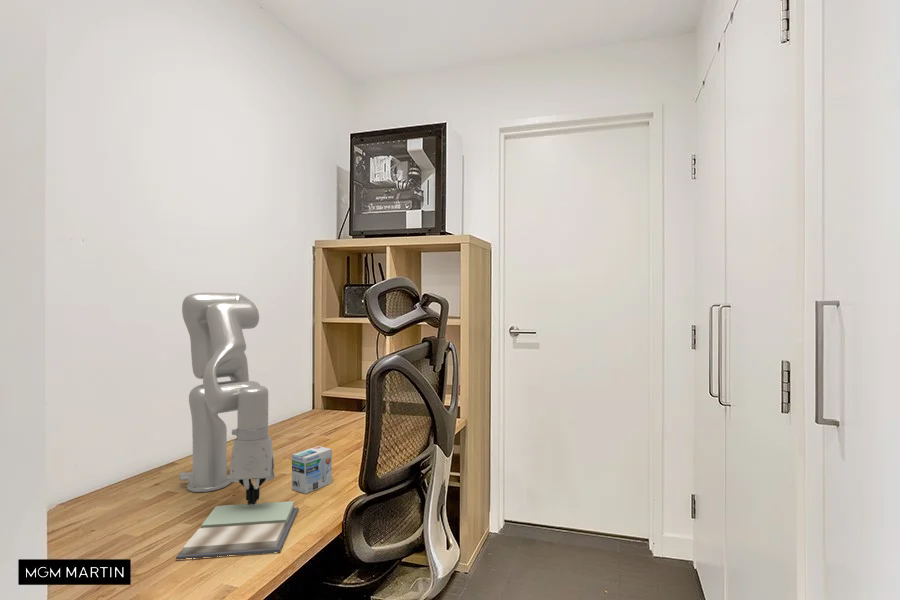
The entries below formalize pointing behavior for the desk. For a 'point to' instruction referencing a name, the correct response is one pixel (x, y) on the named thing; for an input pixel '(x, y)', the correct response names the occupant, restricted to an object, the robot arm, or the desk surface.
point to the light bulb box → (311, 469)
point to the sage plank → (249, 514)
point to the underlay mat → (249, 551)
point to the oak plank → (234, 538)
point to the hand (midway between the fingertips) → (252, 502)
